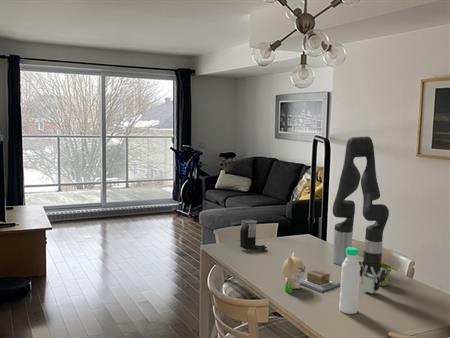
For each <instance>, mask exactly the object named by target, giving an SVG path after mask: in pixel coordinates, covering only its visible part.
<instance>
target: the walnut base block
mask: <svg viewBox="0 0 450 338" xmlns="http://www.w3.org/2000/svg"><path fill="white" fill-rule="evenodd" d="M306 277H307V281H308V282H311V283H314V284H317V285H319V286H320V285H323V284H326V283H329V279H330V273H329V272H326V271H323V270H320V269H314V270H310V271H308V272H307V276H306Z"/></svg>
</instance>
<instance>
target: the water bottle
mask: <svg viewBox="0 0 450 338" xmlns="http://www.w3.org/2000/svg"><path fill="white" fill-rule="evenodd" d="M346 255H347V257H346V258H345V260H344V262H343V264H342V265H341V274H340V293H339V304H338V309H339V311H340V312H341V313H344V314H345V315H346V314H348V315H353V314H356V313H357V312H358V311H359V303H358V302H359V297H360V296H359V291H360V284H361V281H360V280H361V276H360V269H361V267H360V264H359V261H360V260H358V256H359V249H358V248H356V247H354V246H352V247H348V248H346Z"/></svg>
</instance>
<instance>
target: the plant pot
mask: <svg viewBox="0 0 450 338" xmlns="http://www.w3.org/2000/svg"><path fill="white" fill-rule="evenodd" d="M381 266H382V268H384V269H387V270H388V271H387V274H386V277H385V280H384V281H383V282H381V283H380V285H379V287H384V286H388V283H389V278H390V273H391V271H392V270H393V266H392V265H391V264H388V263H384V262H381ZM379 274H380V276H381V270H379Z"/></svg>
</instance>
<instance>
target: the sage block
mask: <svg viewBox="0 0 450 338" xmlns="http://www.w3.org/2000/svg"><path fill="white" fill-rule="evenodd" d="M374 285H375V279H374V277H373V274H371V273H368V275H365V276H363V279H362V278H361V290H362V291H365V292H367V293H369V294H374V293H376V292H378V291H379V289H378V290H377V291H375V290H374Z"/></svg>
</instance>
